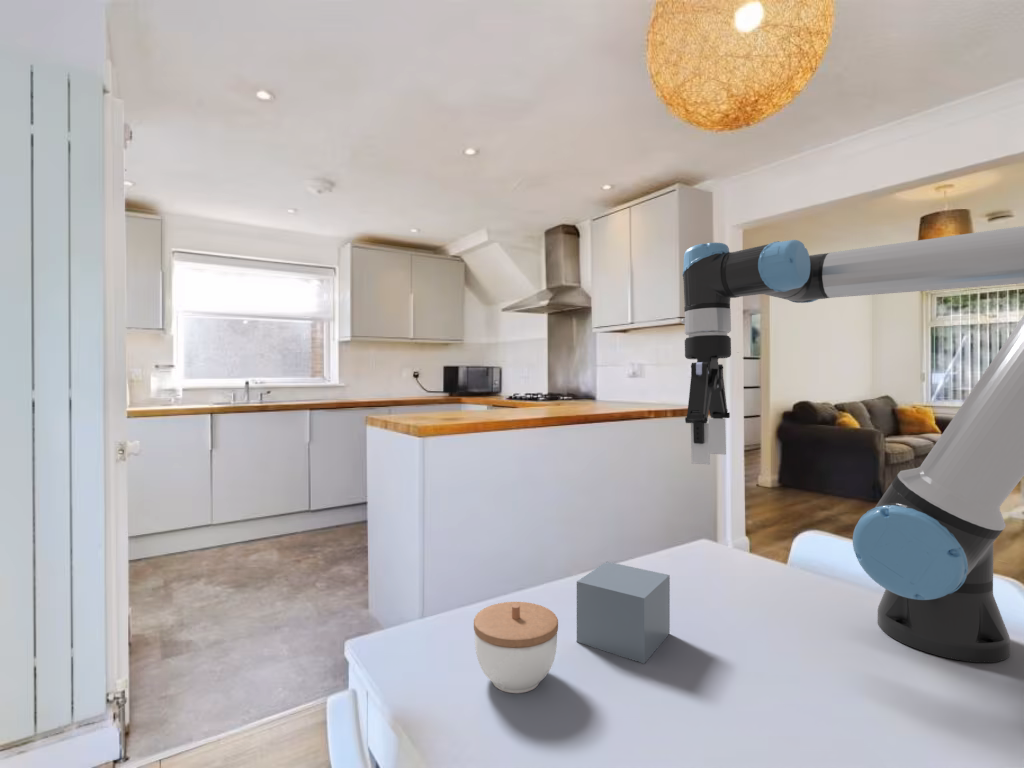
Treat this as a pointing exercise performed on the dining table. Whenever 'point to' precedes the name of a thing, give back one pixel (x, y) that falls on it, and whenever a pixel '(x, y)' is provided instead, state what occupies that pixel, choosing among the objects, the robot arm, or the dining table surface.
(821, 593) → the dining table surface
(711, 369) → the robot arm
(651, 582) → the matte gray-blue box
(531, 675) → the lidded jar
